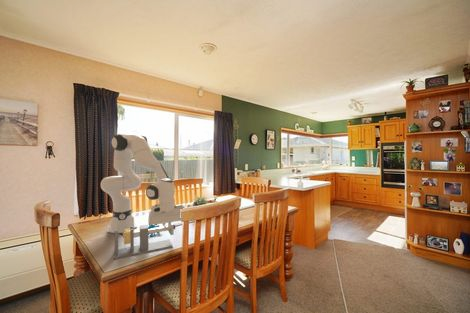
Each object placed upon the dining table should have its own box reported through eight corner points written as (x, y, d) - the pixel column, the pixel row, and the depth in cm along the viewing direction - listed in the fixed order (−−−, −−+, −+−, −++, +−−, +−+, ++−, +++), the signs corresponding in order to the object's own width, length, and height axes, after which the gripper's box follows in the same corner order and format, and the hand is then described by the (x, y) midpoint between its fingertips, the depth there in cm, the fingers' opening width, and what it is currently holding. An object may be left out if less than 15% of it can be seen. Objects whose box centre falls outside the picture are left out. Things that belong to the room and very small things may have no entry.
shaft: (123, 238, 119) (123, 227, 119) (173, 229, 132) (173, 220, 132) (123, 243, 112) (123, 232, 112) (176, 234, 125) (176, 224, 125)
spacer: (124, 240, 119) (124, 228, 119) (130, 239, 120) (130, 227, 120) (124, 244, 113) (124, 232, 113) (130, 243, 115) (130, 231, 114)
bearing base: (114, 251, 118) (114, 226, 118) (169, 240, 132) (169, 218, 132) (113, 259, 109) (113, 232, 109) (172, 247, 124) (172, 223, 123)
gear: (142, 235, 137) (145, 221, 144) (142, 239, 141) (145, 225, 148) (160, 236, 140) (162, 222, 147) (160, 239, 144) (162, 226, 151)
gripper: (183, 203, 131) (183, 225, 131) (147, 207, 121) (148, 231, 122) (185, 205, 125) (186, 228, 126) (149, 209, 116) (149, 234, 116)
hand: (167, 229), depth 124 cm, fingers closed
